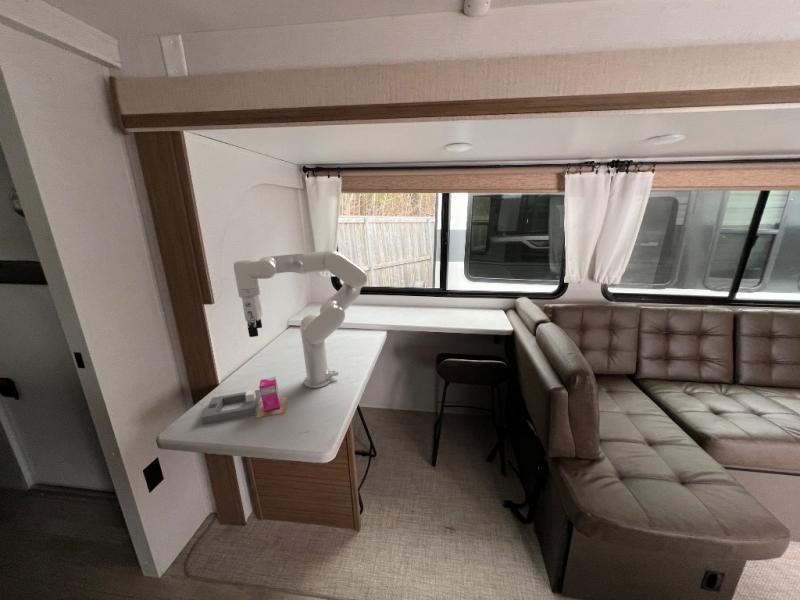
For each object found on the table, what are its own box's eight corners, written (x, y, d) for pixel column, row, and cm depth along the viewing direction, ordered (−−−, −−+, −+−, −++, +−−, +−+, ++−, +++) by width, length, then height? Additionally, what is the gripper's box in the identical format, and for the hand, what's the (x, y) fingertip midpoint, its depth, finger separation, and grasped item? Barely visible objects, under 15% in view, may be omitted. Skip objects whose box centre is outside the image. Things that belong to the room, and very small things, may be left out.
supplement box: (265, 404, 119) (260, 379, 116) (280, 400, 121) (276, 376, 118) (263, 412, 114) (258, 386, 111) (279, 409, 116) (275, 383, 113)
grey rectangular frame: (260, 395, 126) (258, 383, 125) (255, 414, 114) (252, 401, 113) (213, 403, 122) (210, 391, 120) (202, 424, 110) (199, 410, 108)
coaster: (286, 398, 124) (286, 397, 124) (284, 412, 115) (284, 411, 114) (261, 402, 121) (260, 401, 121) (256, 418, 112) (256, 416, 112)
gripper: (255, 296, 110) (262, 338, 114) (262, 286, 126) (268, 324, 130) (233, 298, 108) (241, 341, 112) (243, 288, 124) (250, 326, 128)
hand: (256, 332), depth 121 cm, fingers open, 9 cm apart
